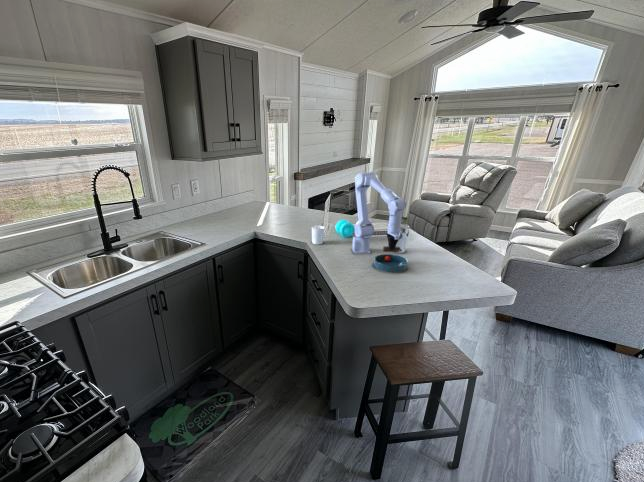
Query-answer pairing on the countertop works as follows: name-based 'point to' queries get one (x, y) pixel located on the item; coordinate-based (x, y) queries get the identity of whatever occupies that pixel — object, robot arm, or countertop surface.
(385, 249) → the paddle
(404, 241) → the beer glass
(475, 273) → the countertop surface
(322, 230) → the white cup
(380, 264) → the bowl
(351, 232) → the donuts
